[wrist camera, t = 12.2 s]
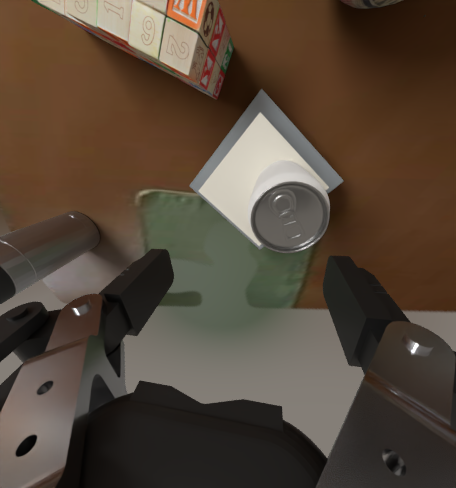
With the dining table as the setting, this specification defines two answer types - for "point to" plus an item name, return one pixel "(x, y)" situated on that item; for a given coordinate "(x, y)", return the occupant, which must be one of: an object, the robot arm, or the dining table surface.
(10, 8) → the dining table surface
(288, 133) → the tower base
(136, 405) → the robot arm
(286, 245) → the can
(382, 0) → the ceramic jug
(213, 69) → the stack of blocks
